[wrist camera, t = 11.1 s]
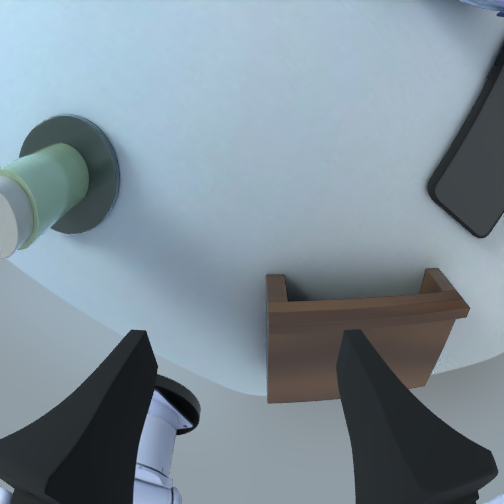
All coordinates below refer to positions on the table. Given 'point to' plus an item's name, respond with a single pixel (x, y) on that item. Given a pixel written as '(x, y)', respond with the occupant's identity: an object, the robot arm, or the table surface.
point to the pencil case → (488, 5)
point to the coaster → (97, 160)
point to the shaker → (39, 194)
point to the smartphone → (476, 163)
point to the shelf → (347, 318)
